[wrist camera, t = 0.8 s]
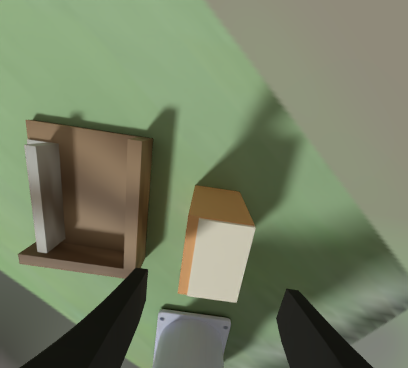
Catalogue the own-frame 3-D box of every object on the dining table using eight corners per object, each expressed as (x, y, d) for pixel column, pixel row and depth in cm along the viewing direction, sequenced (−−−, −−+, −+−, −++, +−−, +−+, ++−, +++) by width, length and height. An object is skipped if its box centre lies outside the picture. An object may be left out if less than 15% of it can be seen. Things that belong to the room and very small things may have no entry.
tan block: (227, 248, 19) (236, 304, 13) (187, 242, 19) (177, 295, 13) (240, 191, 17) (255, 226, 11) (195, 185, 17) (188, 216, 11)
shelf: (144, 258, 20) (134, 279, 17) (45, 244, 20) (19, 263, 17) (153, 138, 16) (141, 141, 13) (32, 119, 16) (-4, 119, 13)
